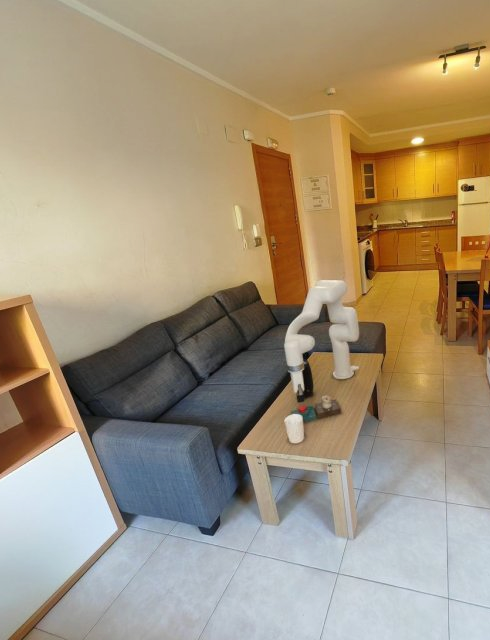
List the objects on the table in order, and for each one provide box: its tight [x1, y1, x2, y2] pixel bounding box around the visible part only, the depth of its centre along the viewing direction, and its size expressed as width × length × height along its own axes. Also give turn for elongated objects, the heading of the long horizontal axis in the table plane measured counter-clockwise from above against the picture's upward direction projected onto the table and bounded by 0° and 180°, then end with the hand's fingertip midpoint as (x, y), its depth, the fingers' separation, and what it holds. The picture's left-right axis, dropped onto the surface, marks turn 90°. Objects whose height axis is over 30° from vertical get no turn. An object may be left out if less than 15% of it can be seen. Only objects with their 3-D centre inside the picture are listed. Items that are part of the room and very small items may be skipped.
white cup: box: [284, 414, 305, 444], centre depth 148 cm, size 8×8×10 cm
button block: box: [290, 405, 317, 424], centre depth 164 cm, size 11×9×4 cm
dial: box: [321, 395, 332, 408], centre depth 165 cm, size 4×4×5 cm
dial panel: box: [313, 398, 342, 420], centre depth 167 cm, size 11×9×3 cm
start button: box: [298, 405, 306, 413], centre depth 163 cm, size 4×4×2 cm
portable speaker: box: [302, 358, 314, 400], centre depth 181 cm, size 9×9×20 cm
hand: (300, 401), depth 161 cm, fingers closed
